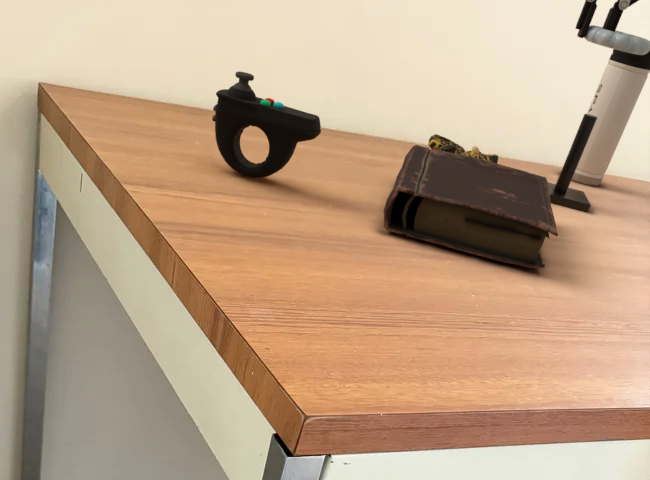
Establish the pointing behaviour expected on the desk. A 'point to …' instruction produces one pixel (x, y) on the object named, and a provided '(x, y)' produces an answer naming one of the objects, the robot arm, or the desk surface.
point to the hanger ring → (618, 40)
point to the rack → (573, 170)
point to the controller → (271, 117)
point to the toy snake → (458, 148)
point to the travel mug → (611, 112)
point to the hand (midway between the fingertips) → (591, 38)
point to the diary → (471, 206)
